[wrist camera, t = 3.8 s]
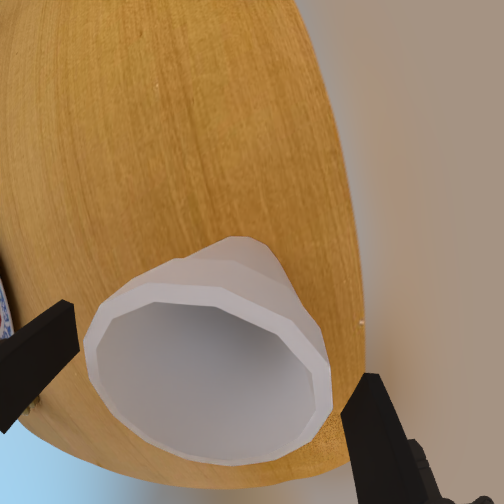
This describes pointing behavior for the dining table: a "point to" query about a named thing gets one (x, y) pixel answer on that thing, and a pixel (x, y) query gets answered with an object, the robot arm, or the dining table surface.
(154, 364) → the foam cup
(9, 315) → the ceramic plate
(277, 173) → the dining table surface
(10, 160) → the dining table surface
